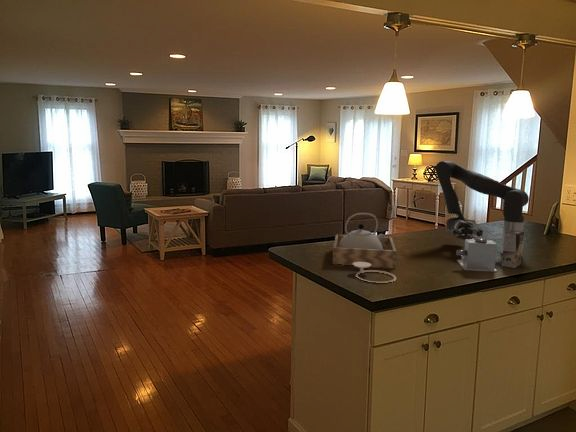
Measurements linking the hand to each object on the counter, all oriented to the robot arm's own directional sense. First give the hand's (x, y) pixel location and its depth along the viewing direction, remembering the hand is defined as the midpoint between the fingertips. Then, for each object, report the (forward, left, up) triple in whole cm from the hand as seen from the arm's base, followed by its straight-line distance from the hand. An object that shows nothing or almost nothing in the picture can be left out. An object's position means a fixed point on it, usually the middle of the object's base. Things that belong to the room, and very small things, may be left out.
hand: (470, 234), depth 233 cm
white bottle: (0, +12, -11) cm, 16 cm away
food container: (-12, -53, -12) cm, 56 cm away
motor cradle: (+2, +16, -12) cm, 20 cm away
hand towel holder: (+49, +43, -12) cm, 66 cm away
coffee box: (-17, +11, -12) cm, 23 cm away
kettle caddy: (+52, +13, -12) cm, 55 cm away
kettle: (+53, +12, -12) cm, 55 cm away
